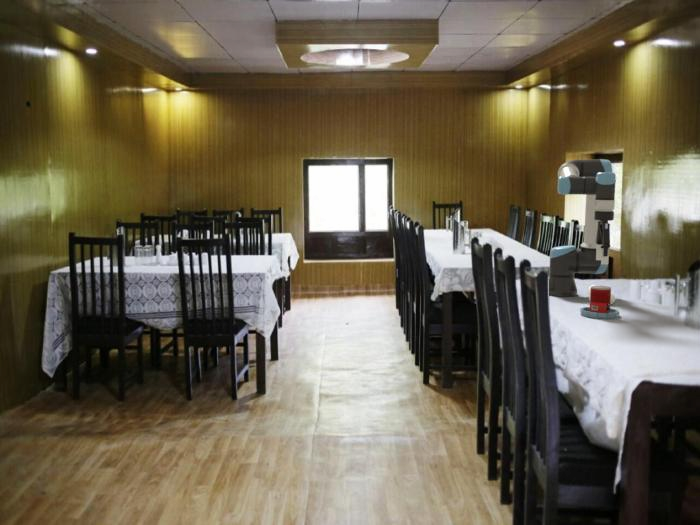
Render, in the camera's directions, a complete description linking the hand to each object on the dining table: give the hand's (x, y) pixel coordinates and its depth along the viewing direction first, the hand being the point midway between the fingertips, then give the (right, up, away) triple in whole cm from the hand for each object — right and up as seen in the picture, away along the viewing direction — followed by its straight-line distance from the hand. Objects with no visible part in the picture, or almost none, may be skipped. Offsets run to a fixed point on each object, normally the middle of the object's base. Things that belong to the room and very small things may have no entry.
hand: (601, 262), depth 317 cm
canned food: (0, -21, +3) cm, 21 cm away
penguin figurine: (+9, -19, +29) cm, 36 cm away
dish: (0, -22, +3) cm, 22 cm away
